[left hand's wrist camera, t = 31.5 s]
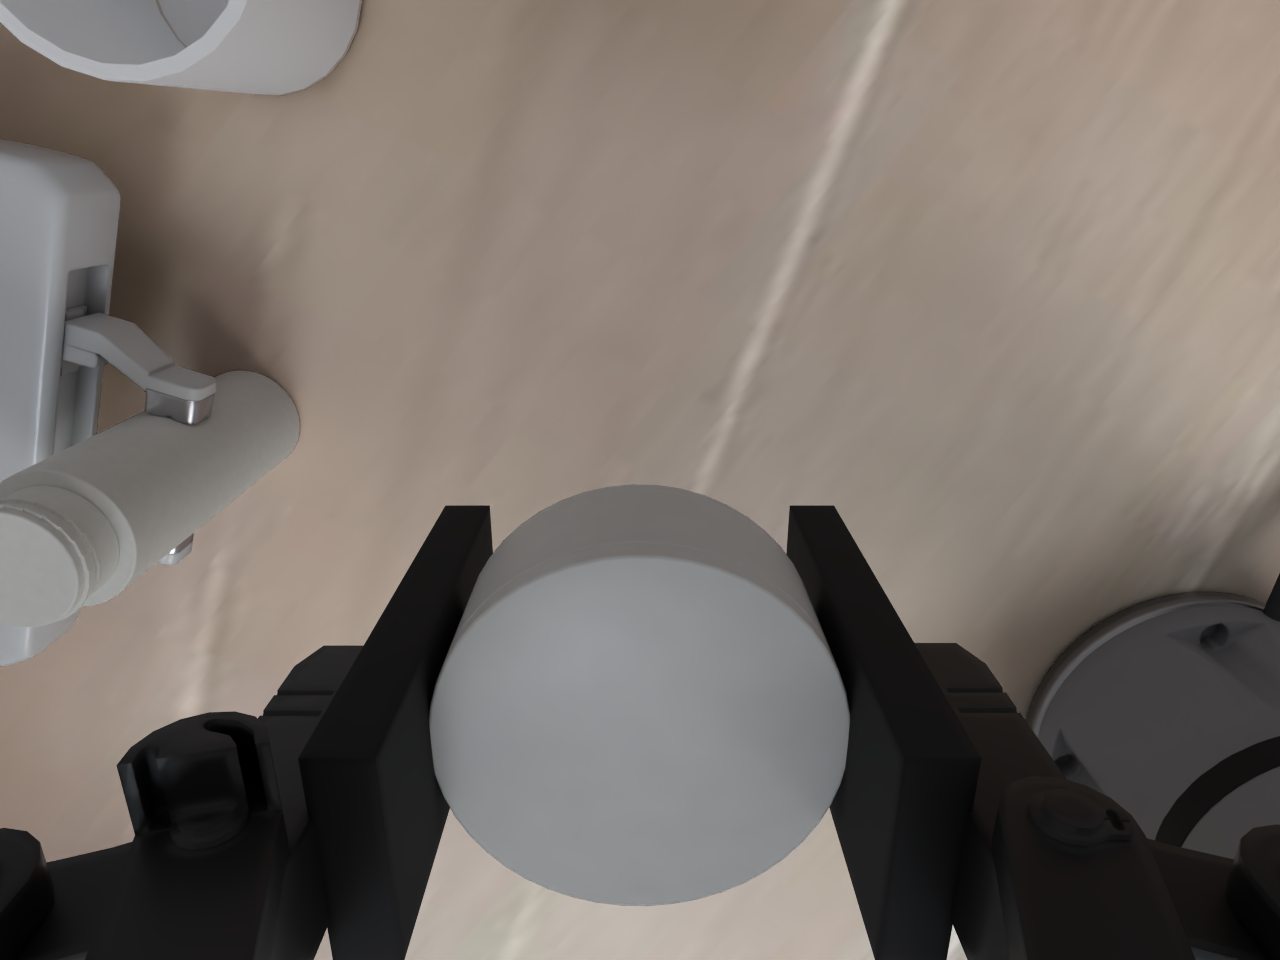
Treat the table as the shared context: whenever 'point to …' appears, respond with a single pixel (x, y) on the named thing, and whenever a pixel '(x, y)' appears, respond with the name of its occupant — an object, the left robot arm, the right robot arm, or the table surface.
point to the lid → (639, 701)
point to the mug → (191, 40)
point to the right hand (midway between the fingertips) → (197, 473)
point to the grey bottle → (132, 498)
